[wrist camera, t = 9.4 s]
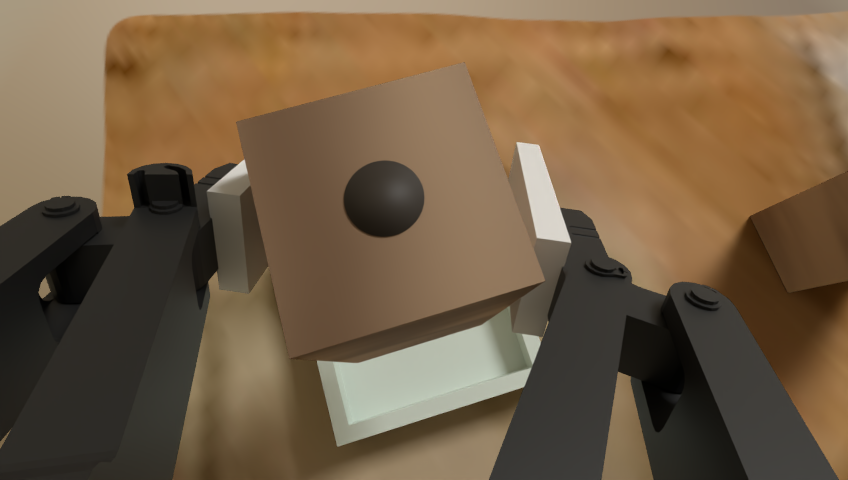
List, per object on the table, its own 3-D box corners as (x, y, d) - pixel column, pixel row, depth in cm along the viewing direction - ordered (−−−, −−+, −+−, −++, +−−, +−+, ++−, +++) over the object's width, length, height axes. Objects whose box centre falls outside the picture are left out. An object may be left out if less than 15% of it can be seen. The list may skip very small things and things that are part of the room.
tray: (477, 193, 30) (482, 178, 28) (542, 376, 28) (553, 377, 25) (297, 244, 29) (286, 234, 27) (344, 440, 27) (337, 446, 24)
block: (443, 208, 20) (464, 61, 10) (481, 325, 19) (546, 280, 9) (326, 242, 20) (235, 120, 10) (357, 363, 18) (289, 359, 9)
